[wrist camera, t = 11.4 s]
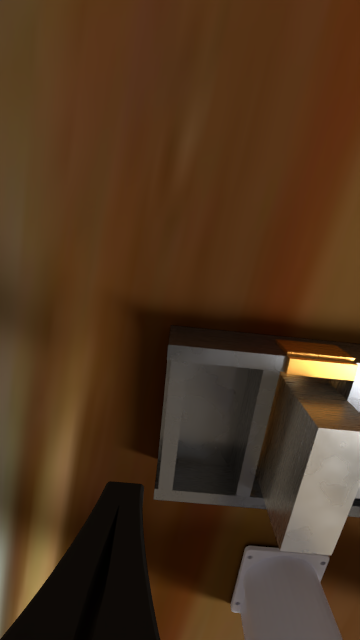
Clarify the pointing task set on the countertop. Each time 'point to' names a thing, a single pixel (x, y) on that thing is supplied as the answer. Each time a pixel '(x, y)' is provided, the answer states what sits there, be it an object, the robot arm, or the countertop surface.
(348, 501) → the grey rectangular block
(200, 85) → the countertop surface
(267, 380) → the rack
